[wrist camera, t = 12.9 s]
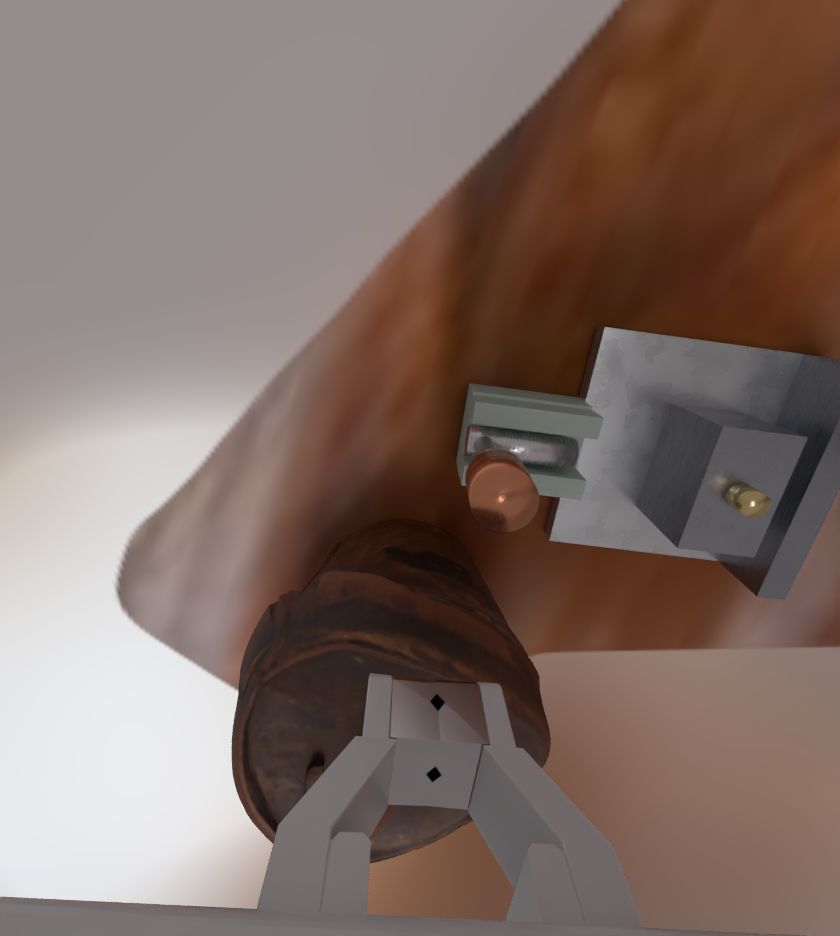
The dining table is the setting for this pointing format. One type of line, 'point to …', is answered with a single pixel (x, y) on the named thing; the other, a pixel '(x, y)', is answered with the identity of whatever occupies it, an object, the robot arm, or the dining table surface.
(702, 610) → the dining table surface
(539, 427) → the ram guide
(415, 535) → the case
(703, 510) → the block
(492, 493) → the ram
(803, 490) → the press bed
